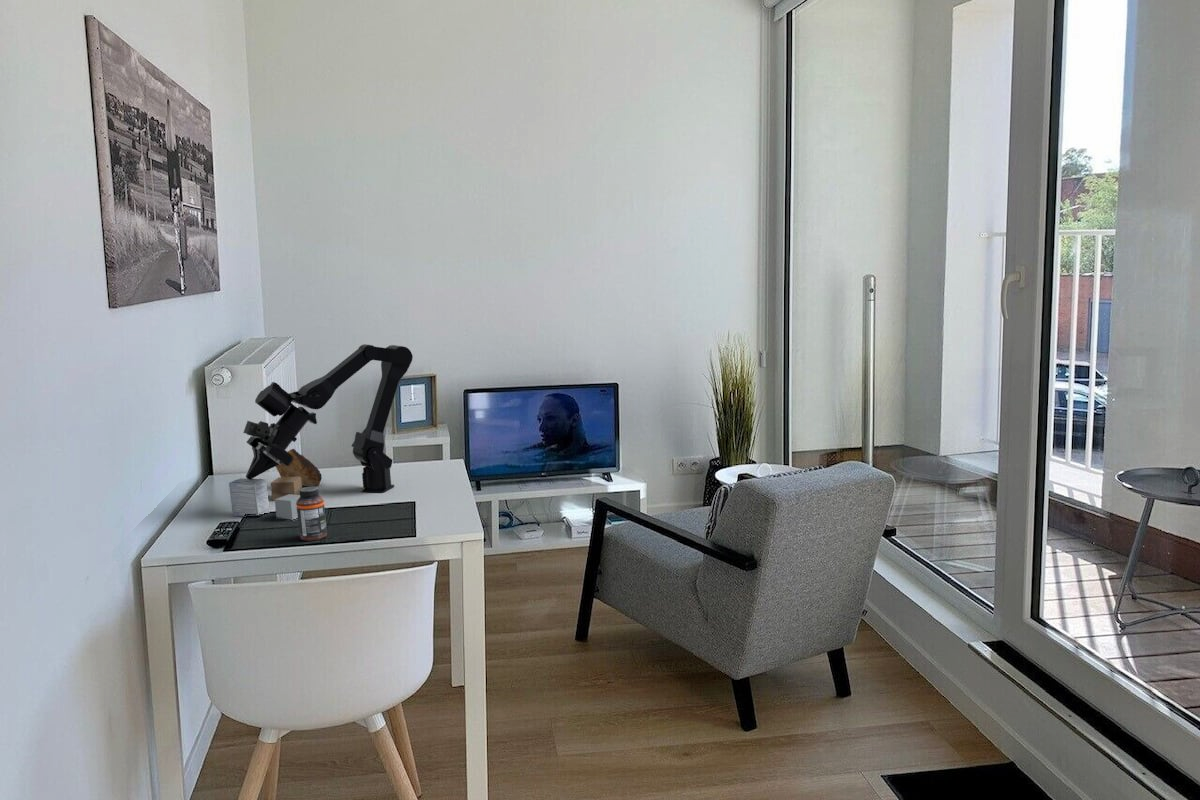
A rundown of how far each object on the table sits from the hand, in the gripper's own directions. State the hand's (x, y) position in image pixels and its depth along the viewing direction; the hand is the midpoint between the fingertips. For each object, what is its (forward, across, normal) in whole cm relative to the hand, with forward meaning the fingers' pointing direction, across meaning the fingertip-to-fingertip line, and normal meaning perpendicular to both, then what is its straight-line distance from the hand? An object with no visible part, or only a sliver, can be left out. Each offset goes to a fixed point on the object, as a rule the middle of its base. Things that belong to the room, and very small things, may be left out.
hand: (247, 478), depth 240 cm
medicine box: (+7, 0, +7) cm, 9 cm away
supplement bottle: (+3, +31, +10) cm, 33 cm away
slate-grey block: (+2, +10, +11) cm, 15 cm away
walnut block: (-2, -10, +15) cm, 18 cm away
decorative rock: (-7, -21, +20) cm, 30 cm away
